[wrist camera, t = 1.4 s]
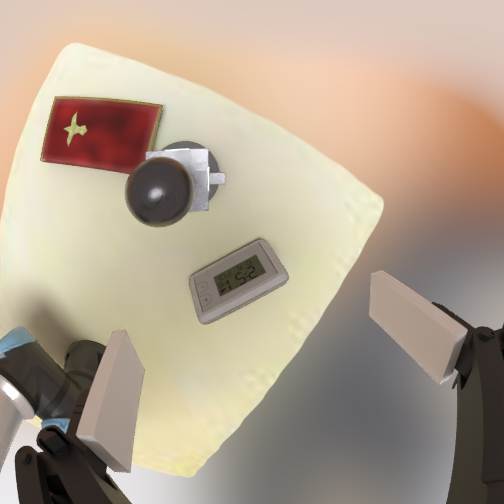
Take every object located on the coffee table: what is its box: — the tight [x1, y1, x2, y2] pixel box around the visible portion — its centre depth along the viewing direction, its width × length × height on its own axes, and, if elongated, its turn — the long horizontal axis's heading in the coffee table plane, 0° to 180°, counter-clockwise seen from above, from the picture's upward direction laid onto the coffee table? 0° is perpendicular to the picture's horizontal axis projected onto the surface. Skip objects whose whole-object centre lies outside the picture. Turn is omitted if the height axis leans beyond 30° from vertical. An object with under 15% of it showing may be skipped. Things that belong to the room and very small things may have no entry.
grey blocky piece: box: [146, 149, 225, 211], centre depth 37 cm, size 10×8×13 cm
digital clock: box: [189, 239, 289, 324], centre depth 46 cm, size 16×9×11 cm, turn 105°
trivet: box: [161, 141, 219, 212], centre depth 44 cm, size 12×12×1 cm
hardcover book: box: [40, 97, 163, 174], centre depth 37 cm, size 12×21×4 cm, turn 75°
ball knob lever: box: [125, 156, 195, 227], centre depth 25 cm, size 5×5×19 cm
